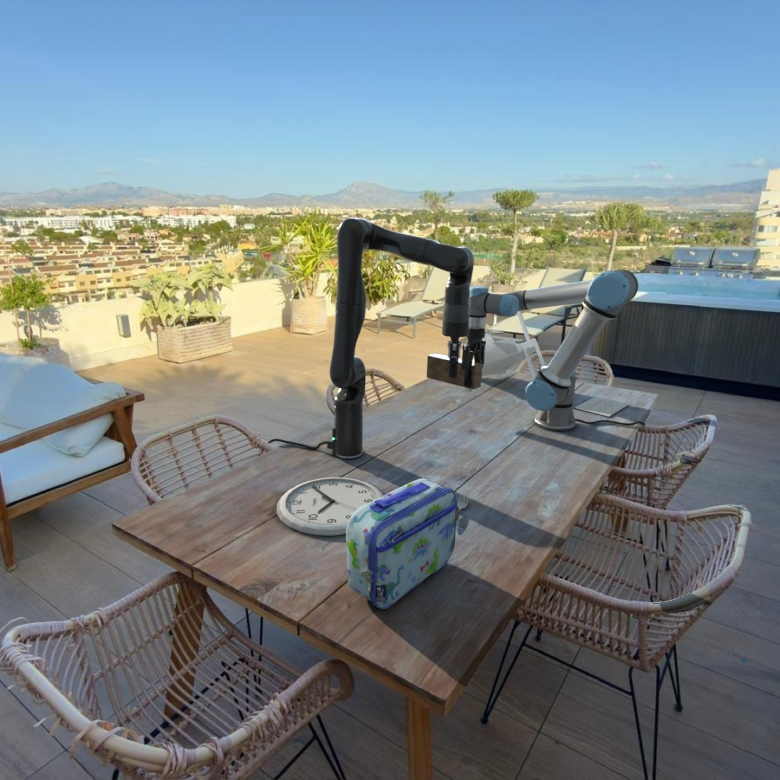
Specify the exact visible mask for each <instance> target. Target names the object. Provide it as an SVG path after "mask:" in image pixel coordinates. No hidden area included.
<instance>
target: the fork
mask: <svg viewBox="0 0 780 780" xmlns="http://www.w3.org/2000/svg"><path fill="white" fill-rule="evenodd" d="M461 496H462V497H461ZM469 496H470V494H467V495H465V496H464V494H460V495H459V498H458V501H457V503H456V508H458V510H456V521H457V520H458V519H459V517H460V513H461V510H463V509H465V508H467V506H468V502H469V501H468V500H469ZM466 497H467V498H466Z"/></svg>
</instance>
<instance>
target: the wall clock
mask: <svg viewBox="0 0 780 780" xmlns="http://www.w3.org/2000/svg"><path fill="white" fill-rule="evenodd" d="M384 495H385V494H384V493H383V492H382V491H381V490H380V489H379V488H377V487H376V486H374V485H372V484H371V483H369V482H365V481H362V480H359V479H355V478H349V477H338V476H337V477H335V476H333V477H332V476H331V477H322V478H317V479H312V480H307V481H305V482H302V483H299V484H297V485H295V486H293V487H292V488H290V489H288V490H287V491H286V492H285V493H284V494H283V495H281V496H280V498H279V499H278V502H277V503H276V515H277V517H278V518H279V520H280V521H281V522H282V523H283V524H285V525H286V526H287V527H288V528H290V529H293V530H295V531H297V532H299V533H303V534H308V535H312V536H327V537H328V536H329V537H331V536H332V537H333V536H342V535H346V528H347V524H348V521H349V519H350V517H351V515H352V514H353V513H354V512H355V511H356V510H357V509H358V508H360V507H362V506H364V505H366V504H368V503H370V502H372V501H374V500H376V499H378V498H380V497H382V496H384Z"/></svg>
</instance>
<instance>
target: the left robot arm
mask: <svg viewBox="0 0 780 780" xmlns="http://www.w3.org/2000/svg"><path fill="white" fill-rule="evenodd" d="M336 243H337V244H336V246H337V279H336V295H335V310H334V311H335V314H334V333H333V345H332V346H333V347H332V353H331V357H330V365H329V378H330V381H331V383H332V384H333V385H334V387H336V388H338V389H337V392H336V394H335V396H334V399H333V404H334V405H333V406H334V407H333V408H334V409H333V410H334V426H333V427H332V428H331V433H332V434H331V435H332V436H331V437H330V438H329V439H327V440H325V441H321V442H319V443H318V444H317V445H316V446H311V445H308V444H304V443H299V442H297V441H296V442H295V441H290V440H285V439H281V438H272V439H270V440H269V441H268V442H267V444H272V443H273V442H279V443H284V444H288V445H294V446H298V447H301V448H306V449H309V450H318V449H320V447H321V446H323V445H326V449H327V450H332V456H335V457H337V458H339V459H342V460H354V459H358V458H360V457H362V456H363V454H364V450H363V449H364V447H363V445H364V444H363V442H364V441H363V436H364V435H363V434H364V432H363V429H364V421H363V419H364V415H363V414H364V413H363V412H364V410H363V408H364V405H363V403H364V402H363V401H364V399H365V394H366V379H367V378H366V377H367V375H366V374H367V372H366V366H365V362H364V361H363V360H362V359H361V358H360V357H359V356H357V355H356V346H357V343H358V339H359V337H360V335H361V332H362V329H363V326H364V323H365V319H366V313H367V312H366V311H367V291H366V286H365V282H364V277H363V272H362V263H363V255H364V254H363V253H364V251H365V250H366V251H367V250H368V251H369V250H370V251H380V252H385V253H388V254H392V255H394V256H397V257H400V258H401V259H405V260H407V261H410V262H414V263H418V264H421V265H425V266H430V267H433V268H436V269H439V270H441V271H445V272H447V273H448V279H447V280H448V281H447V283H446V285H445V288H444V300H443V301H444V304H443V309H442V323H441V324H442V327H441V334H442V336H444V337H449V338H450V340H447V356H448V358H450V361H449V365H450V367H449V377H450V378H456V377H457V365H458V364H459V362H458V358H459V359H461V350H462V340H460V339H461V338H467V337H466V336H467V335H468V330H469V314H470V310H469V299H470V287H471V283H472V277H473V272H474V265H475V258H474V253H473V251H472V250H471V249H470V248H468V247H466V246H454V245H449V244H444V243H440V241H437V240H434V239H430V238H427V237H422V236H417V235H413V234H408V233H402V232H398V231H394V230H390V229H388V228H385V227H382V226H380V225H377V223H376V224H375V223H373V222H371V221H369V220H367V219H366V218H361V217H348V218H346V219H344V220H342V221H341V223H340V224H339V226H338V228H337V233H336Z"/></svg>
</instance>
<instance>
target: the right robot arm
mask: <svg viewBox="0 0 780 780" xmlns="http://www.w3.org/2000/svg"><path fill="white" fill-rule="evenodd" d="M638 291H639V280H638V278H637V276H636V275H635V274H634V273H633V272H631V271H630V270H628V269H614V270H606V271H603V272H601V273H599V274H598V275H596V276H594V278H593V279H587V280H582V281H575V282H569V283H568V282H567V283H561V284H555V285H549V286H543V287H536V288H530V289H526V290H525V289H523V290H516V291H515V290H514V291H512V292H506V293H503V294H502V293H491V292H489V288H488V287H486V286H482V285H481V286H480V285H479V286H475V285H473V286H470V299H469V310H470V314H469V330H468V335H467V336H466V337H465V338H467V340H466V343H465V344H462V345H461V350H462V356H461V359H462V366H461V369H462V370H464V371H465V374H464V386H466V387H471V375H472V371H470V370H471V366H472V361H473V359H474V361H475V362H477V363H481V364H483V365H484V357H485V345H486V341H482V338H484V337H485V334H486V327H487V326H486V325H487V314H488V315H489V314H490V315H496V316H498V315H499V316H503V317H514V316H516V315H517V312H518V311H521V312H522V311H529V310H534V309H535V310H536V309H544V308H550V307H551V308H553V307H560V306H568V305H574V304H582V307H583V309H582V310H581V312H580V313H579V315H578V317H577V318H576V320H575V321H574V323H573V325H572V326H571V328H570V330H569V332H568V333H567V335H566V336H565V338H564V339H563V341H562V342H561V344H560V346H559V347H558V349H557V350H556V352H555V354H554V355H553V357H552V358H551V360H550V361H549V364H548V365H546V366H543V367H541V368H540V369H539V371H538V373H537V374H536V378H535V379H534V380H533V379H532V380H531V381H530V382H529V383H528V384H527V385H526V387H525V389H524V397H525V400H526V402H527V403H528V406H530V407H531V408H533V409H534V410H537V411H536V413H535V416H534V424H535V425H536V426H537V427H539V428H542V429H544V430H549V431H556V432H567V431H572V430H574V429H575V428H576V422H579V423H582V424H586V425H596V424H601V423H610V424H615V425H619V426H629V427H630V426H634V425H638V424H640V425H642V426H646V423H644V422H643V421H640V420H638V421H634V422H621V421H615V420H609V419H600V420H594V421H587V420H582V419H579V418H575V417H576V416H575V413H574V407H573V405H574V398H575V389H576V383H577V379H578V378H577V371H576V370H577V368H578V366H579V365H580V363H581V362H582V361H583V359H584V357H585V355H586V354H587V353H588V351H589V350H590V349H591V346H592V345H593V344H594V342H595V341H596V339H597V337H598V336H599V334H601V331H602V330H603V329H604V327H605V325H606V324H607V323H608V321H612V320H615V319H616V318H617V316H618V314H619V313H620V312H621V310H622V309H623V307H624V306H625V304H628V303H629V302H631V301H632V300H633V299H634V298H635V297H636V295H637V294H638ZM481 361H482V362H481ZM482 368H483V366H482Z"/></svg>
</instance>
